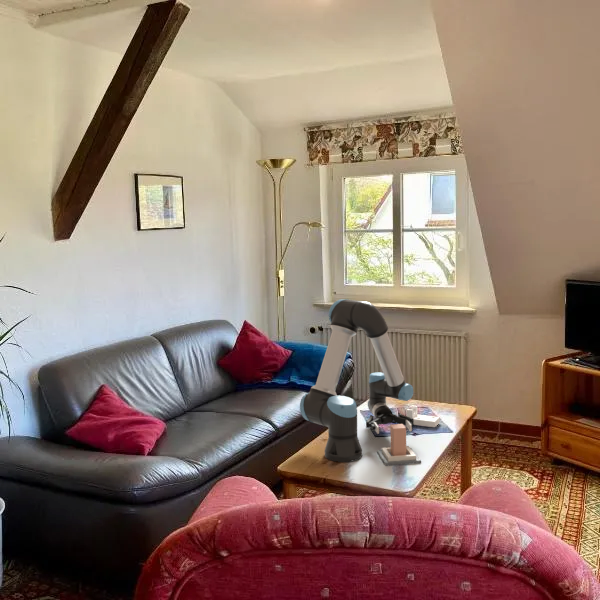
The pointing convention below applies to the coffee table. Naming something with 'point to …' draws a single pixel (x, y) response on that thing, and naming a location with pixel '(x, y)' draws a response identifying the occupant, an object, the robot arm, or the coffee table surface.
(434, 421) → the bracket
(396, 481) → the coffee table surface
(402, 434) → the block
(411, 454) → the seat frame
